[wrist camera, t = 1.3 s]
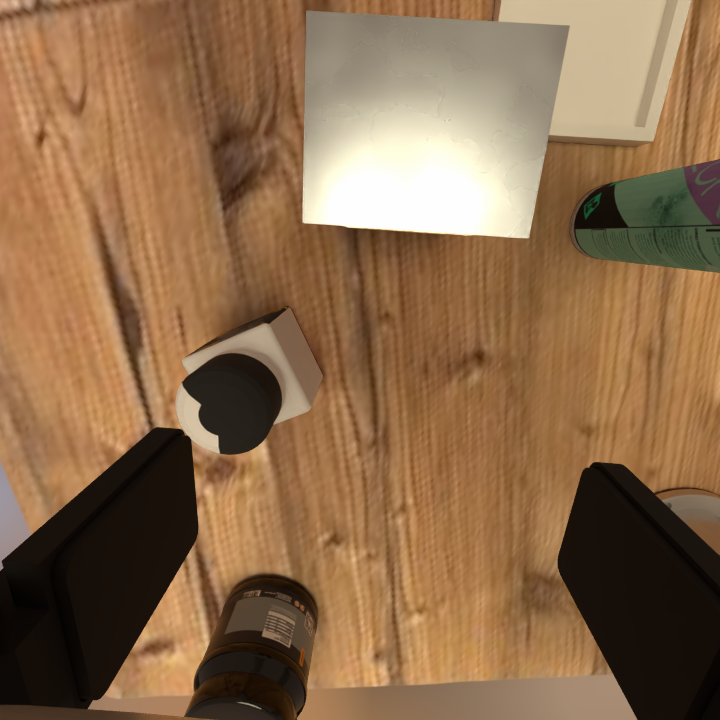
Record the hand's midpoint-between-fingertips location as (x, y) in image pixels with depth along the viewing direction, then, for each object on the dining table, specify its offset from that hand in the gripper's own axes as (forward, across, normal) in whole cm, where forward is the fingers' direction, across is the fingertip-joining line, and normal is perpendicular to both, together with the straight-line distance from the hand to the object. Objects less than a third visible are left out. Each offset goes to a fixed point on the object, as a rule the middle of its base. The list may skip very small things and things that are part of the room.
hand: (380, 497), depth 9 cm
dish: (+25, -12, -19) cm, 33 cm away
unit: (+25, -1, -10) cm, 26 cm away
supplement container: (+25, +9, +35) cm, 44 cm away
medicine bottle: (+25, +9, +5) cm, 27 cm away
